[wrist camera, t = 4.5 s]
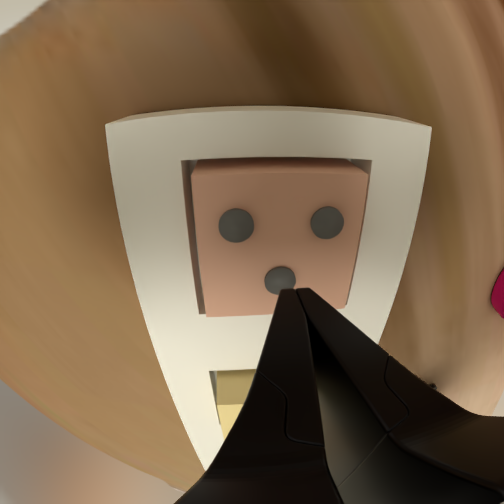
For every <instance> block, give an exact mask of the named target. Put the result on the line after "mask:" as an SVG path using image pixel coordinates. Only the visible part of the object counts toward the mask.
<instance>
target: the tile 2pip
mask: <svg viewBox="0 0 504 504" xmlns="http://www.w3.org/2000/svg"><path fill="white" fill-rule="evenodd" d="M255 372H256V369H245V370H220V371H217V409H218V414H219V419H220V423H221V428H222V433H223V437H224V440H225V439H226V437H227V435H228V433H229V431H230V430H231V428H232V426H233V424H234V422H235V420H236V419H237V417H238V414H239V412H240V410H241V408H242V406H243V404H244V402H245V400H246V397H247V394H248V392H249V389H250V386H251V383H252V380H253V377H254V374H255Z"/></svg>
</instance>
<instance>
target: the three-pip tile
mask: <svg viewBox="0 0 504 504" xmlns="http://www.w3.org/2000/svg"><path fill="white" fill-rule="evenodd" d="M191 182H192V194H193V205H194V216H195V226H196V236H197V246H198V255H199V263H200V272H201V280H202V288H203V296H204V304H205V311H206V317H227V316H249V315H267V314H273V313H274V309H275V306H276V302H277V299H278V295H279V292H280V290H281V289H288V288H293V289H296V288H304V287H309V288H311V289H312V290H313V291H315V292H316V293H317V294H318V295H319V296H321V297H322V298H323V299H324V300H325V301H327V302H328V303H329V304H330V305H331V306H333V307H334V308H335V309H343V308H345V304H346V300H347V296H348V291H349V287H350V282H351V277H352V273H353V268H354V263H355V257H356V252H357V247H358V241H359V236H360V230H361V224H362V218H363V211H364V204H365V198H366V190H367V183H368V174H367V173H365V172H364V171H363V170H361V169H360V168H358V167H357V166H356V165H354V164H353V163H351V162H350V161H348V160H347V159H341V158H312V157H249V158H220V159H201V160H198V161H197V163H196V165H195V168H194V170H193V173H192V175H191Z"/></svg>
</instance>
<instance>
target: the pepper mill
mask: <svg viewBox="0 0 504 504" xmlns="http://www.w3.org/2000/svg"><path fill="white" fill-rule="evenodd" d="M491 301H492V305H493V307H494V308H495V310H496V311H497V312H498V313H499V315H500V316H501V317H502V318H503V319H504V269H503V271H502V272H501V274H500V275H499V277H498V279H497V281H496V283H495V286H494V289H493V291H492V297H491Z"/></svg>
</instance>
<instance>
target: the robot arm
mask: <svg viewBox="0 0 504 504" xmlns="http://www.w3.org/2000/svg"><path fill="white" fill-rule="evenodd" d="M436 389H437V387H436V385H435V384H434V385H431V386H429V385H428V384H427V383H425V382H424V381H422V380H421V379H420V378H418V377H417V376H415V375H414V374H413V373H412V372H410V371H409V370H408V369H407V368H405V367H404V366H403V365H402V364H400V363H399V362H398V361H397V360H396V359H394V358H393V357H392V356H389V354H388V353H387V352H386V351H385V350H384V349H382V348H381V347H380V346H379V345H378V344H377V343H375V342H374V341H373V340H372V339H371V338H369V337H368V336H367V335H366V334H365V333H363V332H362V331H361V330H360V329H359V328H358V327H356V326H355V325H354V324H353V323H352V322H350V321H349V320H348V319H347V318H346V317H344V316H343V315H342V314H341V313H340V312H338V311H337V310H336V309H335V308H334V307H333V306H331V305H330V304H329V303H328V302H327V301H325V300H324V299H323V298H322V297H321V296H319V295H318V294H317V293H316V292H315V291H313V290H312V289H311V288H309V287H304V288H296V289H293V288H288V289H281V290H280V292H279V295H278V299H277V302H276V306H275V309H274V313H273V316H272V319H271V323H270V326H269V329H268V333H267V336H266V339H265V342H264V346H263V349H262V352H261V355H260V359H259V362H258V365H257V368H256V372H255V374H254V377H253V380H252V383H251V386H250V389H249V392H248V394H247V397H246V400H245V402H244V404H243V406H242V408H241V410H240V412H239V414H238V417H237V419H236V420H235V422H234V424H233V426H232V428H231V430H230V431H229V433H228V435H227V437H226V439H225V440H224V442H223V444H222V446H221V448H220V449H219V451H218V453H217V455H216V456H215V458H214V460H213V461H212V463H211V464H210V466H209V467H208V469H207V470H206V471H205V473H204V474H203V475H202V477H201V478H200V479H199V480H198V481H197V482H196V483H195V484H194V485H193V486H192V487H191V488H190V489H189V490H188V491H187V492H186V493H185V494H184V495H183V496H182V497H180V498H179V499H178V500H177V501H176V502H175V503H174V504H504V417H496V416H482V415H477V414H474V413H471V412H469V411H467V410H465V409H464V408H462V407H460V406H459V405H457V404H456V403H454V402H453V401H451V400H450V399H448V398H447V397H446V396H444V395H443V394H441V393H440V392H438V391H437V390H436Z"/></svg>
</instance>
